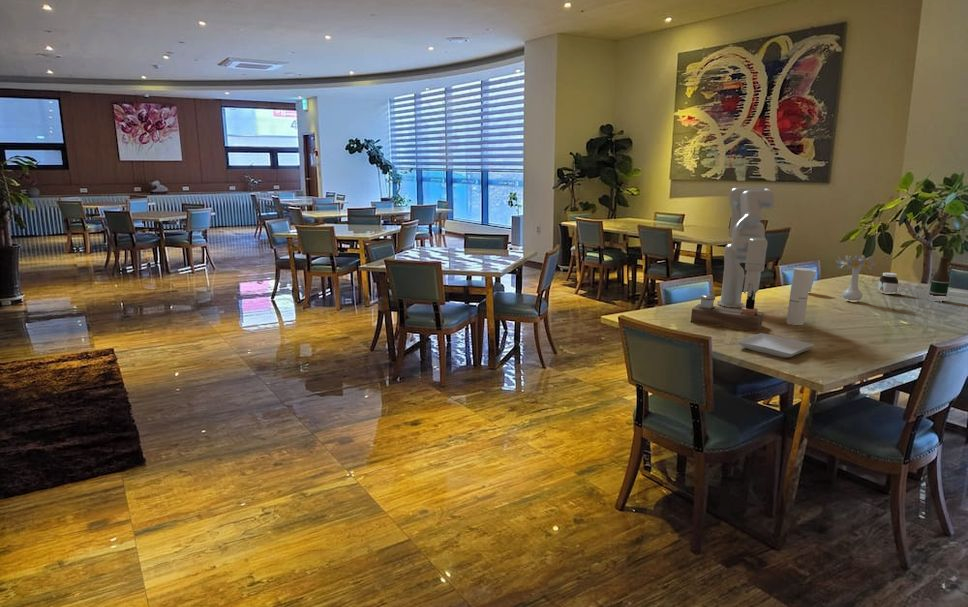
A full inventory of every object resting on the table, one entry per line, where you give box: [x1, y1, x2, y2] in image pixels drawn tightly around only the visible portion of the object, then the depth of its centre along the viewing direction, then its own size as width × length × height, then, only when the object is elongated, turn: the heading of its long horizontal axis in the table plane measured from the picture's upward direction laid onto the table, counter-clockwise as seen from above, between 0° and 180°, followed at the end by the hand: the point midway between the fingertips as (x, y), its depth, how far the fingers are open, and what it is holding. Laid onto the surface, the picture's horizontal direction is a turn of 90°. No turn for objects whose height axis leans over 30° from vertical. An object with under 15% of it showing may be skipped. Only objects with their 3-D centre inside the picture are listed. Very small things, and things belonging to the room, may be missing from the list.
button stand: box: [690, 303, 764, 332], centre depth 275 cm, size 12×28×6 cm, turn 58°
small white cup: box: [699, 294, 716, 310], centre depth 278 cm, size 6×6×6 cm
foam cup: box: [809, 268, 817, 293], centre depth 347 cm, size 10×9×13 cm
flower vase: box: [835, 254, 877, 301], centre depth 325 cm, size 13×18×25 cm
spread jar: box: [877, 272, 904, 293], centre depth 348 cm, size 12×11×12 cm
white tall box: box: [786, 267, 813, 326], centre depth 275 cm, size 7×7×25 cm
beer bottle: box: [928, 256, 950, 297], centre depth 331 cm, size 8×8×24 cm
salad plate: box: [736, 332, 815, 359], centre depth 237 cm, size 21×21×3 cm
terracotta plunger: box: [741, 306, 759, 316], centre depth 270 cm, size 6×6×6 cm
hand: (749, 308), depth 269 cm, fingers closed
